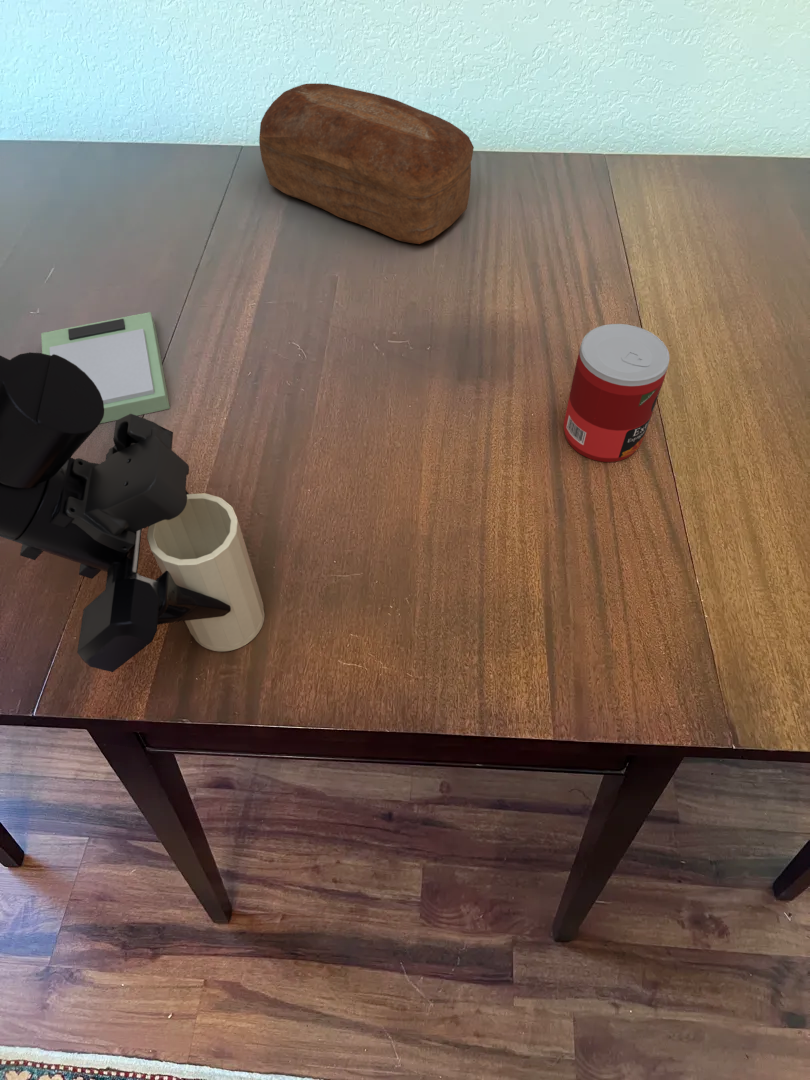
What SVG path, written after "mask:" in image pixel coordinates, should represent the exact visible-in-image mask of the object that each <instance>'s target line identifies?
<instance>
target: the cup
mask: <svg viewBox="0 0 810 1080" xmlns="http://www.w3.org/2000/svg"><path fill="white" fill-rule="evenodd" d="M146 533H147V534H146V540H147V542H148V545H149V548H150V551H151V554H152V555H153V557H154V560H155V561H156V564H157V565H158V568H159V570H160V572H161V575H162V574H163V573H164V572H165V571H168V572H169V573H170V575H171V577H172V578H173V580H174V582H175V584H176V585H178V586H181V587H183V588H186V589H189V590H192V591H195V592H198V593H201V594H204V595H206V596H209V597H212V598H215V599H218V600H220V601H222V602H224V603H226V604H228V605H230V606H231V611H230V612H229V613H228V614H226V615H225V616H221V617H213V618H204V619H196V620H188V621H184V623H185V624H186V627H187V629H188V631H189V633H190V634H191V636H192V638H193V639H194V641H195V642H197V644H198V645H200V646H201V647H203V648H205V649H207V650H208V651H209V650H210V651H213V652H230V651H234V650H237V649H240V648H242V647H245V646H246V645H247V644H249V643H250V642H252V641H253V640H254V639H255V638H256V637H257V636H258V634H259V633H260V631H261V629H262V628H263V626H264V622H265V616H266V613H265V612H266V611H265V607H264V602H263V599H262V595H261V592H260V588H259V585H258V582H257V579H256V576H255V572H254V569H253V565H252V562H251V558H250V555H249V552H248V548H247V545H246V543H245V539H244V535H243V532H242V528H241V526H240V522H239V519H238V517H237V513H236V512H235V510H234V508H233V506H232V505H230V504H229V503H228V502H227V501H226V500H225V499H223V498H222V497H220V496H217V495H213V494H209V493H204V492H203V493H189V495H188V494H187V503H186V506H185V509H184V510H183V511H182V513H181V514H180V515H178V516H177V517H175V518H173V519H170V520H162V521H160V522H158V523H155V524H153V525H151V526H149V527H147V532H146Z"/></svg>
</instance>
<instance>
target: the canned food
mask: <svg viewBox="0 0 810 1080" xmlns="http://www.w3.org/2000/svg"><path fill="white" fill-rule="evenodd" d="M669 364H670V352H669V350H668V347H667V346H666V344H665V342H664V341H663V340H661V338H659V337H658V336H657V335H655V334H654V333H653V332H651V331H649V330H647V329H644V328H642V327H639V326H636V325H632V324H627V323H608V324H603V325H600V326H597V327H595V328H593V329H591V330H589V331H588V332H587V333H586V334H585V336H584V337H583V338H582V340H581V344H580V346H579V350H578V355H577V358H576V361H575V368H574V373H573V377H572V382H571V386H570V391H569V396H568V400H567V406H566V410H565V415H564V420H563V430H564V435H565V439H566V441H567V443H568V444H569V445H570V447H571V448H572V449H573V450H574V451H575V452H577V453H578V454H580V455H581V456H583V457H585V458H587V459H590V460H592V461H596V462H602V463H604V462H605V463H615V462H620V461H623V460H625V459H628V458H629V457H631V456H633V454H635V452H636V451H638V449H640V446H642V443H643V441H644V438H645V435H646V433H647V429H648V427H649V424H650V421H651V418H652V416H653V413H654V410H655V407H656V405H657V401H658V398H659V395H660V392H661V390H662V387H663V384H664V382H665V379H666V375H667V372H668V368H669Z"/></svg>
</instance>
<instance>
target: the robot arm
mask: <svg viewBox="0 0 810 1080" xmlns="http://www.w3.org/2000/svg"><path fill="white" fill-rule="evenodd" d="M103 416H104V404H103V399H102V397H101V394H100V392H99V390H98V389H97V387H96V385H95V384H94V382H93V381H92V380H91V379H90V378H89V377H88V376H87V374H86V373H85V372H83V371H82V370H81V369H80V368H78V367H77V366H76V365H74V364H73V363H71V362H70V361H68V360H66V359H65V358H62V357H60V356H58V355H55V354H53V355H52V356H50V355H46V354H42V352H24V353H20V354H17V355H16V356H14V357H12V358H10V359H9V358H6V357H4V356H2V355H0V538H4V539H5V540H9V541H12V542H15V543H18V544H21V547H20V548H21V549H20V552H19V556H21V557H23V558H27V559H30V560H33V561H36V560H37V559H38V558H39V557H40V556H41V554H42V553H47V554H51V555H53V556H56V557H60V558H62V559H65V560H68V561H71V562H73V563H77V564H79V571H78V575H79V576H80V577H81V576H82V577H85V578H88V579H91V580H93V579H94V578H96V577H97V576H98V574H99V573H101V572H104V573H106V580H105V588H104V590H103V591H102V592H101V593H100V594H98V596H97V597H95V598H94V599H93V600H92V601H91V602H90V603H89V604H88V605H86V607H84V608H83V611H82V618H81V624H80V631H79V639H78V645H77V652H76V654H78V656H79V657H80V658H81V660H82V661H83V662H84V663H85V664H86V665H88V666H89V667H90V668H94V669H97V670H101V671H105V672H110V673H114V672H115V671H116V670H118V669H119V668H120V667H121V666H123V665H124V664H125V663H127V662H129V660H130V659H132V658H133V657H135V656H136V655H137V654H139V652H141V651H142V650H143V649H145V648H146V647H147V646H148V645H149V644H151V643H152V642H153V640H154V639H155V636H156V634H157V631H158V626H160V625H166V624H171V623H179V622H185V621H188V620H196V619H204V618H213V617H221V616H225V615H226V614H228V613H229V612H230V611H231V606H230V605H228V604H226V603H224V602H222V601H220V600H218V599H215V598H212V597H209V596H206V595H204V594H201V593H198V592H195V591H192V590H189V589H186V588H183V587H181V586H178V585H176V584H175V582H174V580H173V578H172V577H171V575H170V573H169V572H168V571H165V572H164V573H163V574H162V573H161V575H159V576H158V577H157V578H156V579H153V578H150V577H147V576H144V575H142V574H140V573H139V572H138V568H139V561H140V549H141V539H142V530H143V529H146V528H148V527H149V526H151V525H153V524H155V523H158V522H160V521H162V520H170V519H173V518H175V517H177V516H178V515H180V514H181V513H182V511H183V510H184V509H185V506H186V503H187V494H188V495H189V494H190V493H189V491H188V490H187V478H188V477H187V476H188V475H189V474H190V466H189V464H188V463H187V462H186V461H185V460H184V459H182V457H180V456H179V455H178V454H177V453H176V452H175V451H174V450H173V439H174V432H173V431H171V430H169V429H168V428H165V427H163V426H161V425H159V424H157V423H156V422H154V421H152V420H150V419H146V418H143V417H141V416H140V415H138V416H136V415H133V414H129V415H127V416H125V417H123V418H120V419H118V420H115V424H114V431H113V438H112V440H113V443H114V445H113V447H110V448H108V452H107V453H106V454H105V460H104V461H102V462H100V463H97V462H91V461H87V460H85V459H83V458H79V457H77V458H73V455H74V454H75V453H76V452H77V451H78V449H80V447H81V446H82V445H83V444H84V443H85V441H86V440H87V439H88V438H89V437H90V436H91V435H92V434H93V433H94V431H95V430H96V429H97V428H98V426H100V422H101V420H102V418H103Z"/></svg>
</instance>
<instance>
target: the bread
mask: <svg viewBox="0 0 810 1080" xmlns="http://www.w3.org/2000/svg"><path fill="white" fill-rule="evenodd" d="M258 144H259V151H260V156H261V157H260V158H261V162H262V165H263V168H264V171H265V174H266V177H267V179H268V183H269V185H271V186H272V187H274V188H276V189H277V190H279V191H280V192H281V193H283V194H285V195H286V196H288V197H292V198H294V199H297V200H301V201H304V202H306V203H308V204H311V205H313V206H316V207H317V208H320V209H322V210H323V211H326V212H328V213H330V214H332V215H334V216H336V217H338V218H340V219H343V220H346V221H348V222H352V223H355V224H358V225H361V226H363V227H366V228H368V229H371V230H373V231H375V232H377V233H380V234H383V235H385V236H387V237H389V238H392V239H393V240H396V241H399V242H403V243H410V244H415V245H416V244H417V245H420V244H421V245H422V244H423V243H426V242H428V241H431V240H433V239H434V238H436V237H437V236H439V235H441V233H442V232H444V231H445V230H447V229H448V228H450V227H451V226H452V225H453V224H454V223H455V222H456V221H457V220H458V219H459V218H460V216H462V214H463V213H465V211H466V210H467V208H468V205H469V199H470V194H471V193H470V192H471V181H472V180H471V177H472V160H473V155H474V154H473V153H474V149H475V147H474V144H473V143H472V141H471V138H470V137H469V135H468V134H466V133H465V131H463V130H462V129H460V128H459V127H457V126H456V125H454V124H453V123H451V122H450V121H448V120H446V119H444V118H442V117H439V116H436V115H434V114H432V113H430V112H426V111H425V110H422V109H419V108H416V107H415V106H411V105H409V104H407V103H405V102H402V101H400V100H397V99H394V98H391V97H388V96H384V95H381V94H376V93H373V92H368V91H363V90H360V89H355V88H354V89H353V88H349V87H346V86H345V87H344V86H340V85H337V84H330V83H321V82H319V83H318V82H317V83H304V84H300V85H297V86H295V87H291V88H290V89H287V90H284V91H283V92H282V93H281V94H280V95H279V96H278V97H277V98H276V99H275V100H273V101H272V103H271V104H270V106H269V107H268V108H267V109H266V111H265V112H264V114H263V117H262V119H261V121H260V126H259V138H258Z"/></svg>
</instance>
